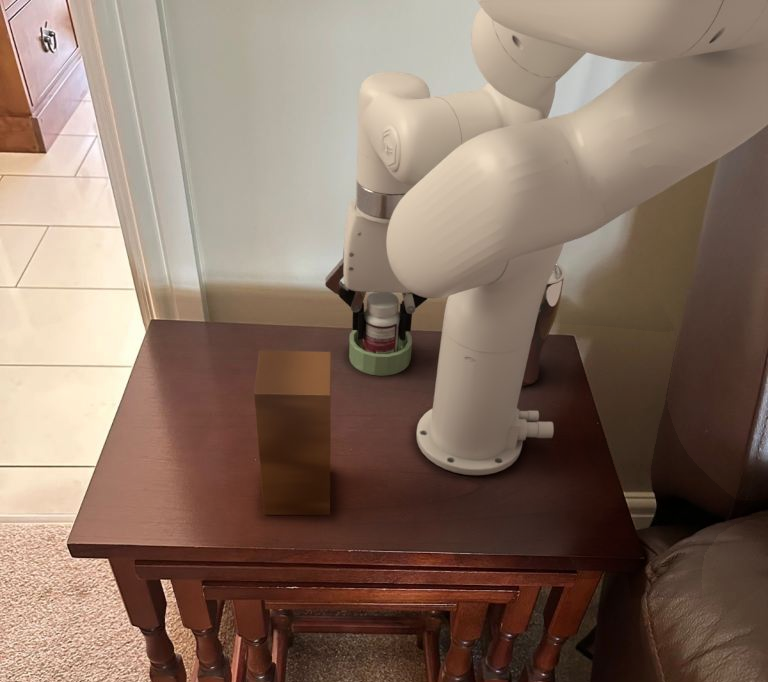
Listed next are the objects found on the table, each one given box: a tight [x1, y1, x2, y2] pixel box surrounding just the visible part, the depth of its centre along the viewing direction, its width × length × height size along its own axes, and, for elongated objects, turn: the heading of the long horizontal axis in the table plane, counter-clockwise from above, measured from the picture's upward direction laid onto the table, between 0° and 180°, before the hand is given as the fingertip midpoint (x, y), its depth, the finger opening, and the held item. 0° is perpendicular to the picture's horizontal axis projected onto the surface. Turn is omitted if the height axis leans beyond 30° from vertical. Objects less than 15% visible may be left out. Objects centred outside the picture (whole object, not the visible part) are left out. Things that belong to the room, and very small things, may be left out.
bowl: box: [348, 330, 413, 377], centre depth 103 cm, size 8×8×3 cm
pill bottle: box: [363, 292, 400, 354], centre depth 101 cm, size 5×5×8 cm
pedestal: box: [253, 350, 332, 516], centre depth 80 cm, size 7×7×16 cm
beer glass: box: [521, 262, 566, 387], centre depth 98 cm, size 7×7×15 cm
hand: (381, 333), depth 101 cm, fingers closed on pill bottle, 4 cm apart
